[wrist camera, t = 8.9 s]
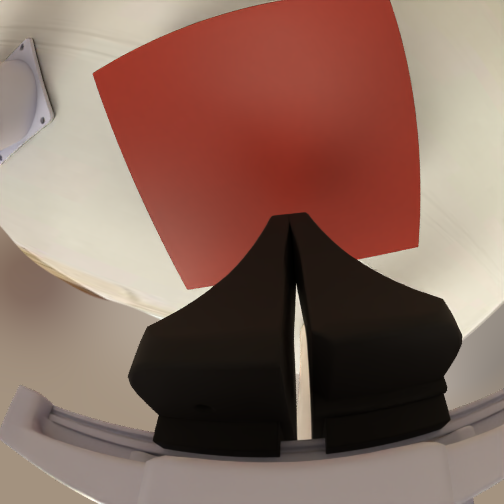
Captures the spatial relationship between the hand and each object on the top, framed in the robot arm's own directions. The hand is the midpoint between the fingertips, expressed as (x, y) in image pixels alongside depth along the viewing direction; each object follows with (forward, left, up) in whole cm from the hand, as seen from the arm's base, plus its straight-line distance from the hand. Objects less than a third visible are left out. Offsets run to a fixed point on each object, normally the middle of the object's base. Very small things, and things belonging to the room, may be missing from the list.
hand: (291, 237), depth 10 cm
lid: (0, +3, -3) cm, 4 cm away
